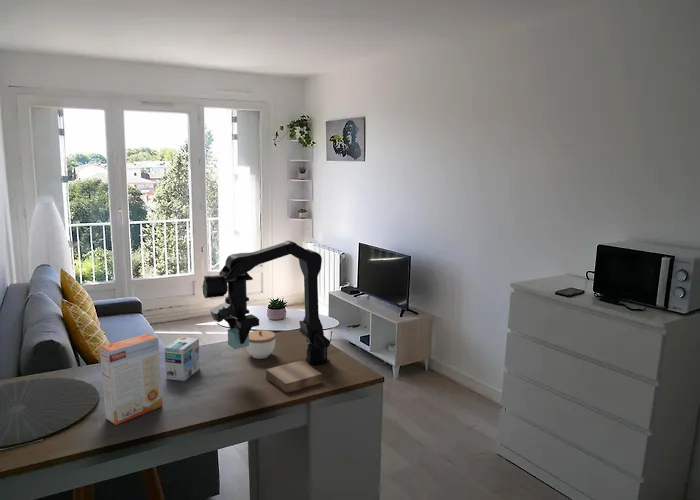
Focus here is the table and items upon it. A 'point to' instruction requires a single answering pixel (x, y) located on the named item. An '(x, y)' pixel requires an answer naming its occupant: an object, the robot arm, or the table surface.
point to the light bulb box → (182, 358)
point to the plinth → (293, 376)
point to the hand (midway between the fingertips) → (238, 341)
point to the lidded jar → (261, 343)
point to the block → (236, 339)
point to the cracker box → (131, 377)
